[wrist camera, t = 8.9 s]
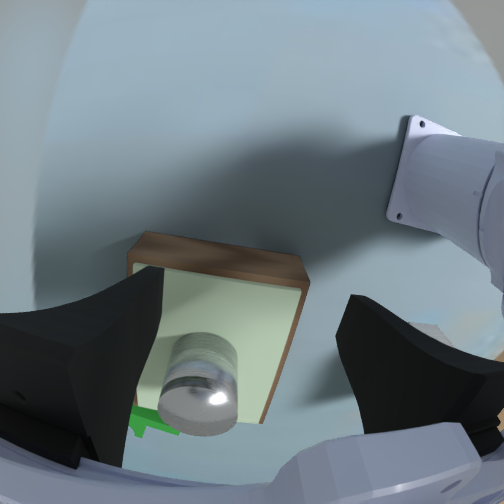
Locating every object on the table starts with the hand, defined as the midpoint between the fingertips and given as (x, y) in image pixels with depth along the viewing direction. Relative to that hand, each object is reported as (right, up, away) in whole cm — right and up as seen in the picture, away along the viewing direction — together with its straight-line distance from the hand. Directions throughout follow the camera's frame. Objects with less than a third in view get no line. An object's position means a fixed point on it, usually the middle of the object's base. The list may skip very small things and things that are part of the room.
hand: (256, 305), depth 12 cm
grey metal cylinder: (-3, -5, +9) cm, 10 cm away
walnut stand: (-4, -4, +13) cm, 14 cm away
